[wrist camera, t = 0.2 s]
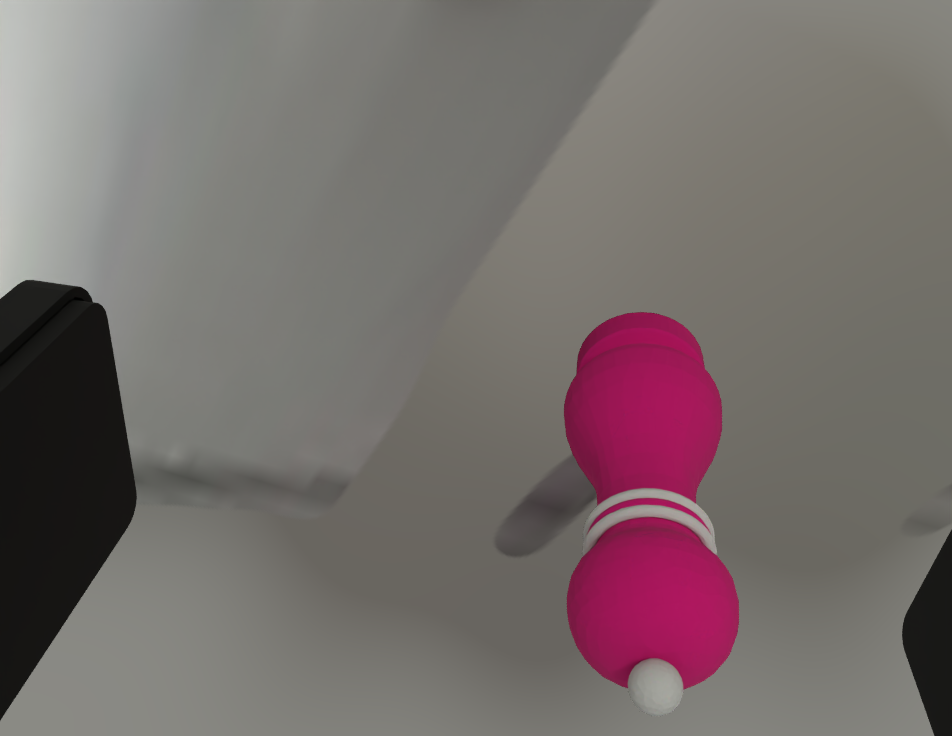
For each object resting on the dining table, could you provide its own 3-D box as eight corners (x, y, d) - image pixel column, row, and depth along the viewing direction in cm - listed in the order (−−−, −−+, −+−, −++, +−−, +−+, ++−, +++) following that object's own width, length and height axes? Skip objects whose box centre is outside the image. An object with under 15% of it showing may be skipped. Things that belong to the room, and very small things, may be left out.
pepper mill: (704, 290, 41) (767, 626, 25) (720, 412, 45) (783, 774, 29) (555, 313, 43) (520, 641, 27) (581, 428, 47) (565, 779, 30)
